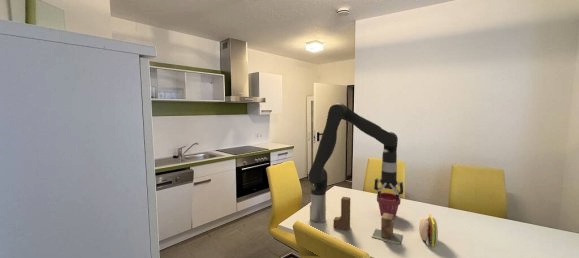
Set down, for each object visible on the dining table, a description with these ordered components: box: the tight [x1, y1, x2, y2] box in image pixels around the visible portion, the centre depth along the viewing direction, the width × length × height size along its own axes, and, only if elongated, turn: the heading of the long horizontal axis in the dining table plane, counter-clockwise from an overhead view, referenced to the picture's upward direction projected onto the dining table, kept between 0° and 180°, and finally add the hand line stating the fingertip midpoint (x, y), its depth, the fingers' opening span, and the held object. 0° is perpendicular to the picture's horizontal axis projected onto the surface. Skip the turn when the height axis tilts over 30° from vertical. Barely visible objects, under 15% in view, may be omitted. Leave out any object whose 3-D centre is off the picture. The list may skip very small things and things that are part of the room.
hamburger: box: [418, 213, 439, 247], centre depth 127 cm, size 12×8×12 cm
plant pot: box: [376, 192, 401, 219], centre depth 157 cm, size 14×14×13 cm
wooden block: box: [333, 196, 351, 231], centre depth 142 cm, size 9×4×18 cm, turn 64°
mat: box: [371, 228, 403, 245], centre depth 131 cm, size 14×10×1 cm
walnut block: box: [380, 213, 394, 240], centre depth 131 cm, size 5×7×11 cm
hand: (388, 199), depth 130 cm, fingers open, 8 cm apart
